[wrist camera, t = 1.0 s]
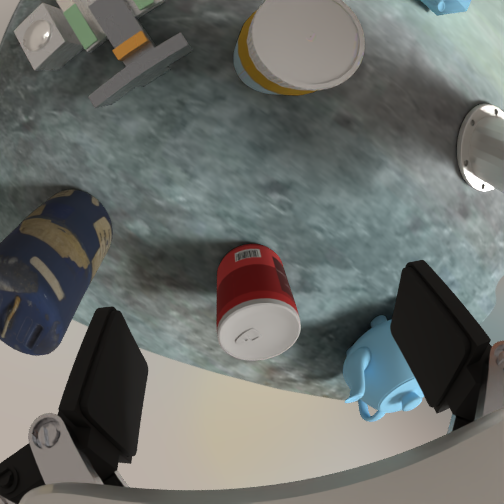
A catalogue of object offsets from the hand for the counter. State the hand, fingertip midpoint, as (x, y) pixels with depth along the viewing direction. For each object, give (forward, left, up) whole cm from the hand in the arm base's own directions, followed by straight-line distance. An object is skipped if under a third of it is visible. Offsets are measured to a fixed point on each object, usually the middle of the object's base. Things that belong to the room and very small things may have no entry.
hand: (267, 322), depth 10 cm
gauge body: (+4, -23, -24) cm, 33 cm away
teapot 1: (-6, +37, -24) cm, 45 cm away
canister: (+19, -3, -24) cm, 31 cm away
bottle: (-8, -7, -24) cm, 26 cm away
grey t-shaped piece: (+2, -16, -22) cm, 28 cm away
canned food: (+5, +13, -24) cm, 28 cm away
